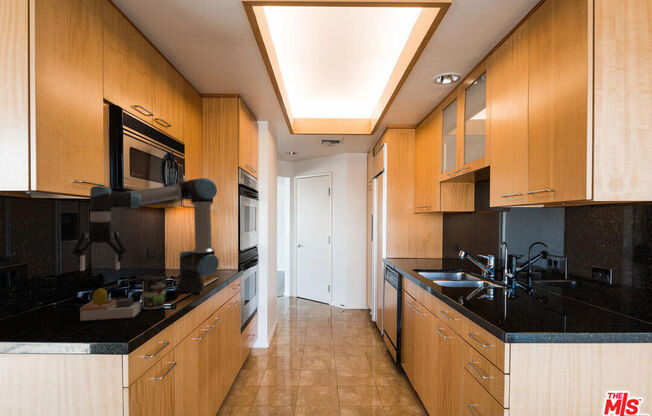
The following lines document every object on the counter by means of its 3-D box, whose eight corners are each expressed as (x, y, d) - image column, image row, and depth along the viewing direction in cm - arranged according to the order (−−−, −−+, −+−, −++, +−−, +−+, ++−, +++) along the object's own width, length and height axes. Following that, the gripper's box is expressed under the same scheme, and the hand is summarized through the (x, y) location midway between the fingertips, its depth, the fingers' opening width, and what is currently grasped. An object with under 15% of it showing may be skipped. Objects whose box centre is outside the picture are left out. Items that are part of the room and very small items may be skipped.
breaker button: (133, 311, 144) (133, 297, 145) (129, 314, 140) (129, 300, 140) (120, 311, 143) (120, 298, 143) (116, 315, 138) (116, 301, 139)
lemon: (104, 307, 137) (104, 289, 138) (89, 308, 136) (89, 289, 136) (110, 304, 143) (110, 286, 143) (96, 304, 142) (96, 286, 142)
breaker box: (141, 310, 147) (141, 298, 148) (133, 317, 138) (133, 304, 138) (91, 313, 143) (92, 301, 143) (80, 320, 133) (80, 307, 133)
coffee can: (170, 305, 155) (170, 276, 155) (148, 310, 147) (148, 280, 147) (160, 302, 161) (160, 274, 162) (138, 306, 153) (138, 277, 153)
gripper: (135, 221, 146) (134, 267, 146) (72, 221, 141) (72, 269, 140) (128, 221, 139) (128, 270, 139) (62, 222, 133) (62, 272, 133)
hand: (100, 269), depth 140 cm, fingers open, 13 cm apart
